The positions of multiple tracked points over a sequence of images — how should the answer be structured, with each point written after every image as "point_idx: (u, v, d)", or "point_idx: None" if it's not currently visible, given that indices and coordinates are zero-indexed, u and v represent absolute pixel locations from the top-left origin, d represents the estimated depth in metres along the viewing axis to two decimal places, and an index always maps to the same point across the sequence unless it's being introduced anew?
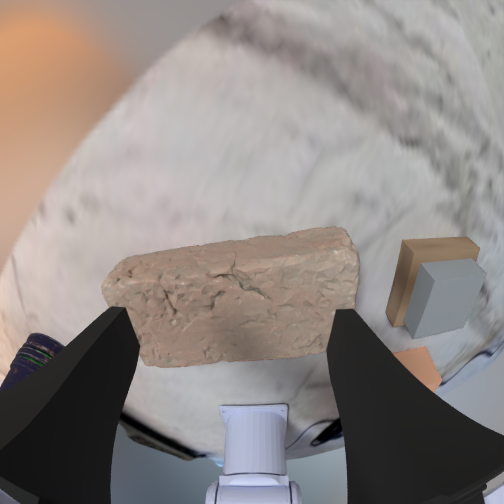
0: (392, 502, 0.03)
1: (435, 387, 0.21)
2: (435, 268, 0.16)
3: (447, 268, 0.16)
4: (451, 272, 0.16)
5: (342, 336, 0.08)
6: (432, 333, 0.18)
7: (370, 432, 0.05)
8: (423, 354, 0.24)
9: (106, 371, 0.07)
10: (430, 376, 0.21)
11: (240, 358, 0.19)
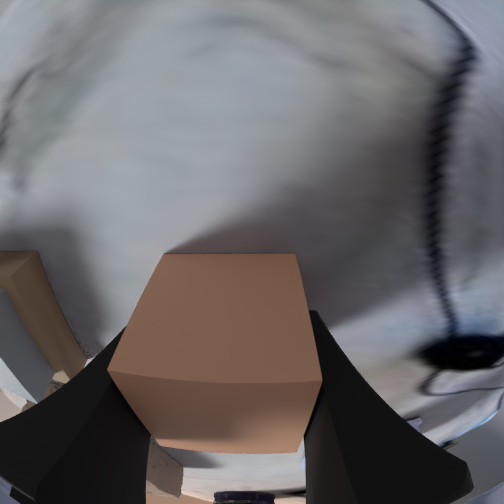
0: None
1: (153, 387, 0.05)
2: None
3: None
4: None
5: None
6: (16, 381, 0.08)
7: (319, 440, 0.05)
8: None
9: None
10: None
11: None
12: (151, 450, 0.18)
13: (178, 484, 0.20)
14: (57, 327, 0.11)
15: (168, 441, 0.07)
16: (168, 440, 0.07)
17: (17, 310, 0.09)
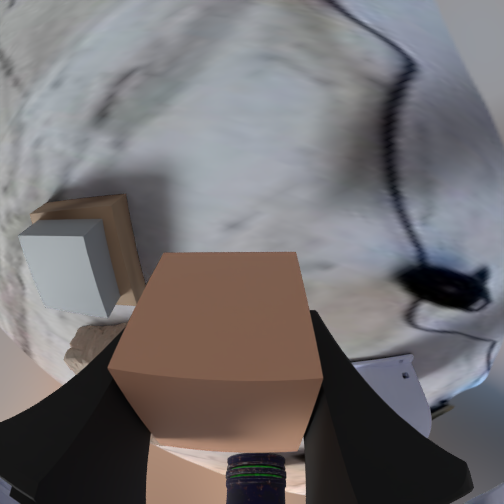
0: None
1: (154, 385, 0.05)
2: None
3: None
4: None
5: None
6: (96, 293, 0.14)
7: (319, 440, 0.05)
8: None
9: None
10: None
11: None
12: None
13: None
14: (131, 254, 0.17)
15: (168, 440, 0.07)
16: (168, 439, 0.07)
17: (105, 235, 0.15)
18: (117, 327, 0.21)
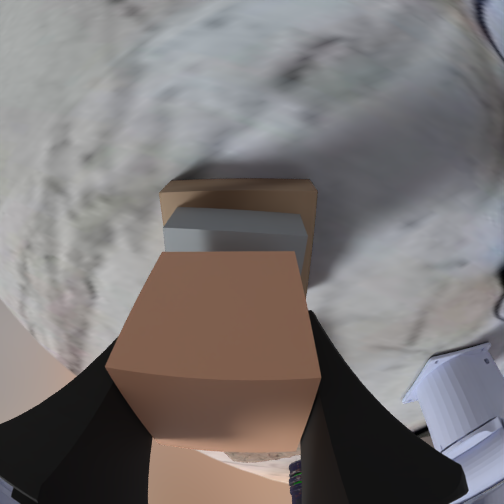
0: None
1: (151, 384, 0.05)
2: None
3: None
4: None
5: None
6: None
7: (313, 440, 0.05)
8: None
9: None
10: None
11: None
12: None
13: None
14: None
15: (167, 440, 0.07)
16: (167, 438, 0.07)
17: None
18: None
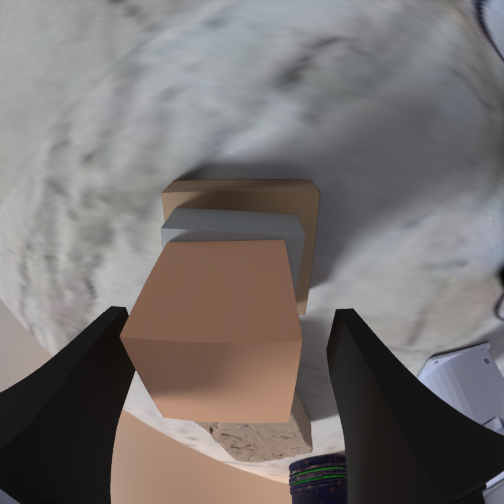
0: (392, 502, 0.03)
1: (159, 350, 0.06)
2: None
3: None
4: None
5: (342, 336, 0.08)
6: None
7: (370, 432, 0.05)
8: None
9: (106, 371, 0.07)
10: None
11: (292, 426, 0.19)
12: (297, 396, 0.22)
13: (311, 436, 0.23)
14: None
15: (170, 412, 0.08)
16: (171, 410, 0.08)
17: None
18: None
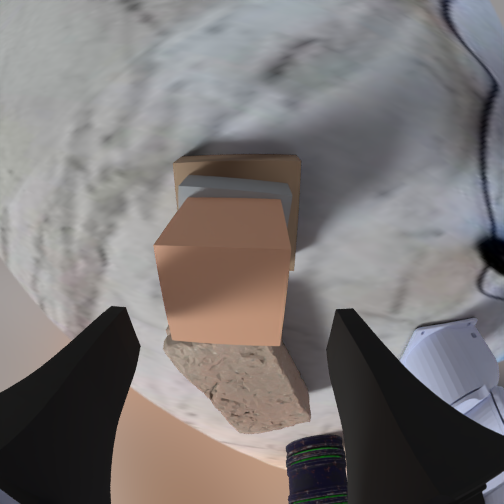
0: (392, 502, 0.03)
1: (183, 257, 0.09)
2: None
3: None
4: None
5: (342, 336, 0.08)
6: None
7: (370, 432, 0.05)
8: None
9: (106, 371, 0.07)
10: None
11: (286, 388, 0.22)
12: (291, 360, 0.24)
13: (308, 405, 0.26)
14: None
15: (180, 331, 0.11)
16: (180, 329, 0.11)
17: None
18: None
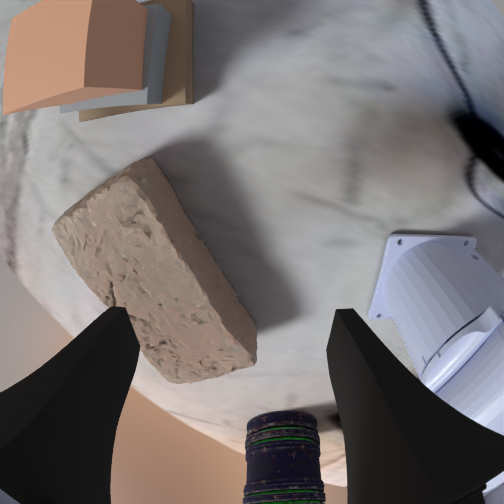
0: (392, 502, 0.03)
1: (25, 17, 0.04)
2: None
3: None
4: None
5: (342, 336, 0.08)
6: (145, 68, 0.10)
7: (370, 432, 0.05)
8: None
9: (106, 371, 0.07)
10: None
11: (196, 291, 0.17)
12: (213, 263, 0.19)
13: (252, 341, 0.21)
14: (190, 52, 0.13)
15: (9, 99, 0.06)
16: (10, 95, 0.06)
17: (171, 21, 0.11)
18: None
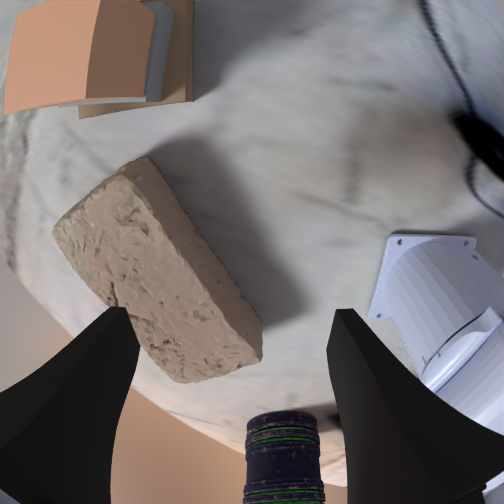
0: (392, 502, 0.03)
1: (31, 15, 0.04)
2: None
3: None
4: None
5: (342, 336, 0.08)
6: None
7: (370, 432, 0.05)
8: None
9: (106, 371, 0.07)
10: None
11: (197, 287, 0.17)
12: (213, 259, 0.19)
13: (256, 337, 0.20)
14: (190, 50, 0.12)
15: (10, 100, 0.06)
16: (11, 96, 0.06)
17: None
18: None
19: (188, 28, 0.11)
